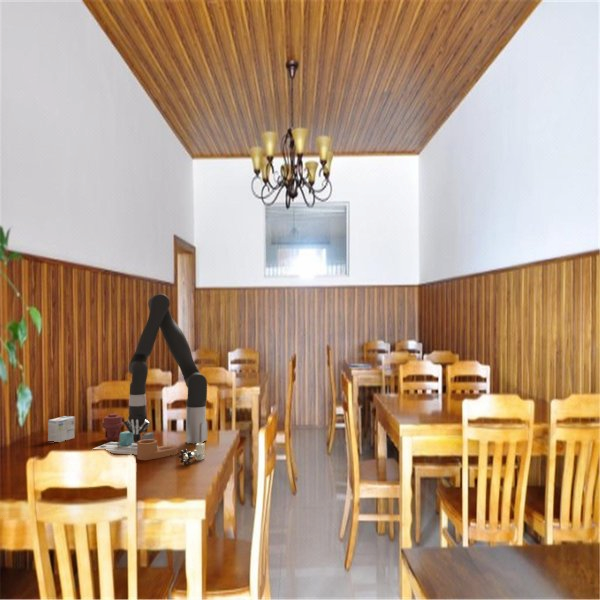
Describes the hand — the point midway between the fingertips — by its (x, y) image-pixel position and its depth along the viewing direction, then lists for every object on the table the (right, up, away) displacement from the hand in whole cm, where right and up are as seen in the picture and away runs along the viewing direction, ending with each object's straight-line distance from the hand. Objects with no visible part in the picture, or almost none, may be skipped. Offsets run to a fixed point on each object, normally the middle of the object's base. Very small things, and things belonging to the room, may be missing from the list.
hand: (136, 441), depth 225 cm
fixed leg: (+5, -1, -3) cm, 6 cm away
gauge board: (-4, -3, -2) cm, 6 cm away
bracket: (+13, -3, -11) cm, 17 cm away
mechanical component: (-18, -4, +17) cm, 25 cm away
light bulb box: (-43, -4, +16) cm, 46 cm away
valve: (+31, -3, -20) cm, 37 cm away
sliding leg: (-6, -1, -1) cm, 6 cm away
